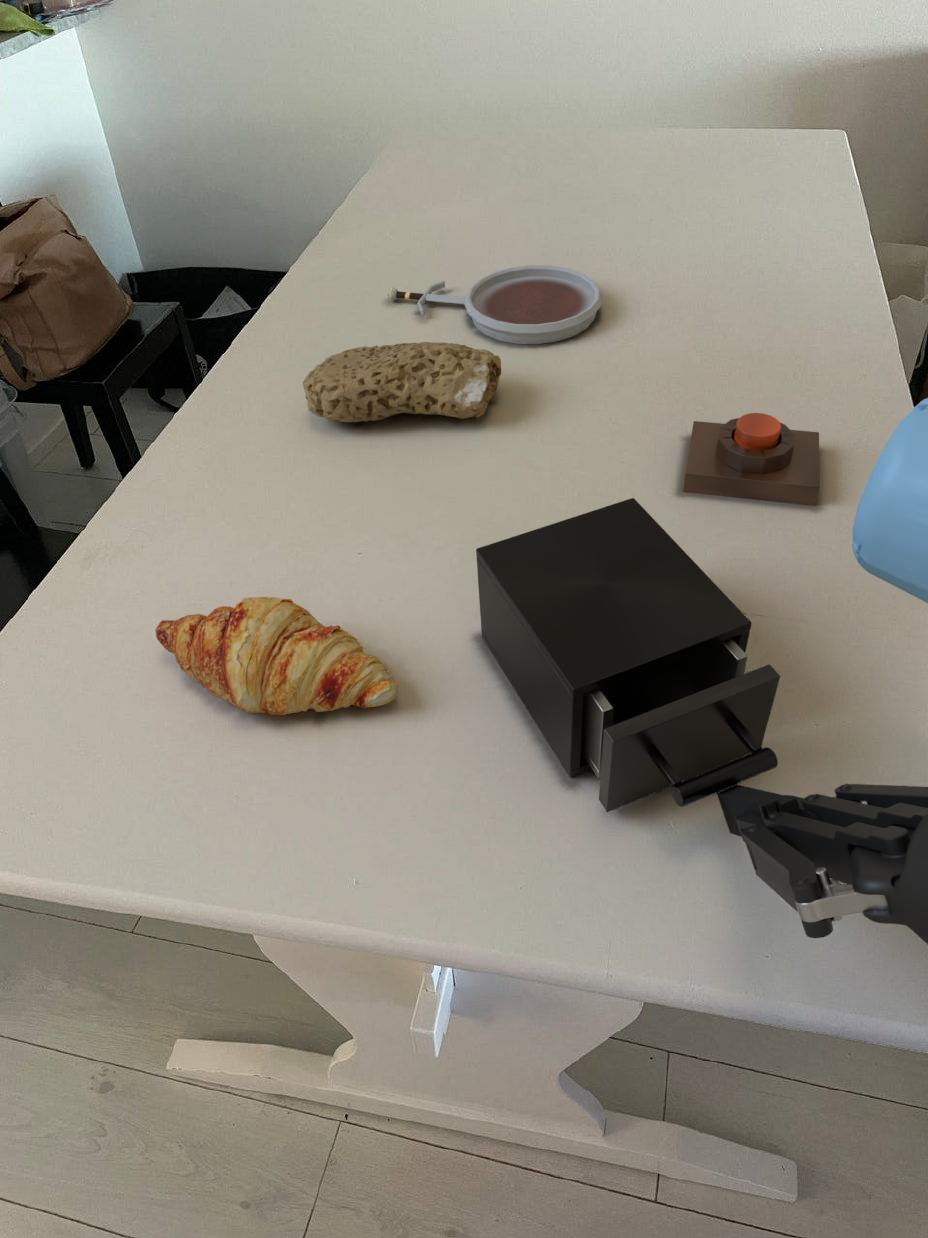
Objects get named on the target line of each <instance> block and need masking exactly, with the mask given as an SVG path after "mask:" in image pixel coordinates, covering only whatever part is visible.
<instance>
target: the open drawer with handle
mask: <svg viewBox="0 0 928 1238" xmlns="http://www.w3.org/2000/svg"><path fill="white" fill-rule="evenodd" d="M748 658H749V656H748V655H747V653H746V652H745V653H744V651H743V650H742V649H741V648H740V647H739V646H738V645H737V644H736V643H735V642H734V640H733V639H732V638H729V639H726V640H724V641H721V642H719V643H716V644H713V645H711V646H708V647H705V648H703V649H700V650H697V651H695V652H692V653H689V654H687V655H684V656H681V657H679V658H676V659H673V660H671V661H668V662H666V663H663V664H660V665H658V666H655V667H652V668H650V669H647V670H644V671H642V672H639V673H636V674H634V675H631V676H628V677H626V678H623V679H621V680H618V681H615V682H613V683H610V684H607V685H605V686H602V687H599V688H597V689H594V690H591V691H589V692H586V693H583V711H582V733H581V753H582V755H583V756H584V758H585V759H586V761H587V762H588V764H589V765H590V767H591V768H592V769H591V770H592V771H593V773H594V774H595V776H596V778H597V779H598V780H599V791H598V801H599V803H600V804H601V806H602V807H603V809H604V810H605V812H606V813H610V812H613V811H614V810H617V809H619V808H621V807H625V806H626V805H629V804H631V803H634V802H636V801H638V800H640V799H643V798H646V797H648V796H650V795H653V794H655V793H658V792H660V791H662V790H665V789H667V788H669V787H671V788H670V792H671V793H670V794H671V796H672V798H673V800H674V802H675V804H676V805H677V806H678V807H680V808H685V807H687V806H688V805H691V804H694V803H696V802H699V801H700V800H703V799H705V798H707V797H710V796H712V795H716V794H717V793H718V792H720V791H722V790H725V789H727V788H729V787H732V786H734V785H739V784H741V783H743V782H745V781H747V780H750V779H753V778H755V777H757V776H759V775H762V774H765V773H767V772H769V771H771V770H773V769H776V768H777V767H778V764H779V762H778V757H777V755H776V753H775V751H773V749H771V748H770V747H768V746H765V747H763V746H762V745H763V742H764V738H765V734H766V731H767V728H768V723H769V720H770V716H771V712H772V708H773V705H774V701H775V698H776V695H777V689H778V686H779V683H780V679H781V675H780V674H779V673H778V672H777V670H776V669H774V667H773V666H772V665H771V664H770V663H768V664H766V665H764V666H761V667H758V668H756V669H752V670H751V671H748V672H746V673H745V670H746V666H747V663H748Z"/></svg>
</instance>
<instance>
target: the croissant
mask: <svg viewBox="0 0 928 1238" xmlns="http://www.w3.org/2000/svg"><path fill="white" fill-rule="evenodd" d="M154 631H155V637H156V639H157V641H158V642H159V643H160V645H161V646H162V647H163V648H164V649H165V650H166V651H168V652H170V653H172V654H173V655H174V658H175V660H176V662H177V664H178V665H179V668H180V670H181V671H182V672H183V673H185V674H187V675H188V676H189V677H190V678H191V679H192V680H195V681H196V682H197V683H199V684H200V685H201V686H202V687H203V688H204V689H207V691H208V693H209V694H211V695H213V697H215V698H218V699H220V700H223V701H225V702H227V703H230V704H231V705H233V706H234V707H236V708H237V709H238V710H241V711H243V712H245V713H256V714H257V713H259V714H266V715H270V716H285V715H288V714H295V713H301V712H307V711H308V710H309V709H310V710H314V711H315V712H317V713H321V712H332V711H334V710H338V709H341V708H345V709H346V708H349V707H351V705H352V706H355V707H360V708H362V709H367V708H374V707H381V706H385V705H387V704H389V703H391V702H392V701H394V700H395V699H397V697H398V695H399V685H398V683H397V682H395V681H394V680H393V679H394V678H393V676H392V675H391V674H390V673H388V668H387V667H386V666H385V665H384V664H383V663H382V661H380V659H379V658H378V657H376V656H373V655H372V656H371V655H370V654H368V653H367V652H365V650H364V648H363V646H362V645H361V644H360V642H359V641H358V639H357V638H356V637H355V636H354V635H352V634H349V632H348V631H346V630H344V629H342V627H341V626H340V625H329V626H325V625H323V624H322V623H321V622H320V621H318V619H316V618H315V616H313V614H311V612H309V610H307V609H306V608H304V607H303V606H301V605H298V604H297V603H295V602H294V601H293V600H292V599H291V598H280V597H275V596H270V597H269V596H257V597H256V596H255V597H254V596H253V597H251V596H250V597H244V598H243V599H242V600H241V601H240V602H237V604H236V605H235V607H232V606H227V605H226V606H225V605H224V606H223V605H222V606H219V607H217V608H214V609H213V610H212V611H211V612H210V613H209V614H208V615H204V614H201V613H195V614H187V615H184V616H182V617H180V618H178V619H176V620H168V619H166V620H165V619H164V620H161V621H160V622H159V623H158V625H157V626H156V628H155V630H154Z"/></svg>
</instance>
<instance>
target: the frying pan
mask: <svg viewBox="0 0 928 1238" xmlns="http://www.w3.org/2000/svg"><path fill="white" fill-rule="evenodd" d="M445 281H446V280H442V281H439V282H437V283H434V284H432V285H429V286H428V287H427V289H426V290H425V292H424V293H421V292H420V293H419V292H411V291H399V290H398V288H396V287H393V286H392V287H391V288H389V289H388V290H387V293H386V296H387V298H388V299H389V300H390V301H391V302H395V301H396V300H398V299H402V300H403V299H404V300H409V301H410V300H415V301H417V309H418V311H419V313H420V315H421V316H422V317H424V316H425V315H426V314H425V309H424V307H423V305H424V304H425V303H426V302H432V303H433V302H435V303H447V304H457V305H464V307H465V310H466V313H467V314H468V316H469V317H471V319H472V322H473V324H474V327H475V328H476V329H478V331H480V332H481V333H482V334H484V335H485V336H487V337H490V338H493V339H495V340H497V341H501V342H505V343H509V344H511V343H512V344H516V345H542V344H548V343H556V342H559V341H563V340H566V339H569V338H572V337H575V336H577V335H579V334H580V333H582V332H583V331H585V330H587V329H588V328H589V327H590V325H591V324H592V323H593V322H594V321H595V318H596V316H597V313H598V312H597V311H599V309H600V308H601V307H602V305H603V304H602V303H603V294H602V292H601V289H600V288H599V286H598V285H597V283H596V281H595V280H593V279H592V278H591V277H589V276H588V275H586V274H585V273H583V272H581V271H577V270H574V269H571V268H569V267H562V266H557V265H556V266H555V265H548V264H528V265H521V266H513V267H508V268H504V269H500V270H498V271H494V272H491V273H490V274H488V275H486V276H483V277H482V278H480V279H477V281H476V282H475V283H474V284H473V285H472V286H471V287H470V288H469V289H468V292H467V294H466V296H459V295H458V296H456V295H446V294H435V293H434V292H437V291H439V290H441V289H444V288H446V282H445Z"/></svg>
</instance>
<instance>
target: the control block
mask: <svg viewBox="0 0 928 1238" xmlns="http://www.w3.org/2000/svg"><path fill="white" fill-rule="evenodd" d="M739 418H740V417H737V418H732V419H730V420H728V421H727V422H725V423H720V422H711V421H710V422H709V421H698V420H694V421H693V423H692V428H691V435H690V442H689V447H688V453H687V459H686V465H685V472H684V480H683V485H682V486H683V488H682V492H683V493H691V494H699V495H709V496H717V497H718V496H719V497H727V498H738V499H744V500H745V499H746V500H756V501H764V502H765V501H766V502H775V503H785V504H791V505H792V504H794V505H803V506H812V507H814V506H815V505H816V501H817V497H818V493H819V490H820V432H819V431H810V430H809V431H808V430H797V429H790V428H789V427H788V425H786V424H785V423H782V422H780V424H781V430H780V434H779V439H778V443H777V445H776V446H775V447H774V448H773V449H768V450H763V451H759V450H749V449H746V448H744V447H742V446H739V445H737V444H736V443H735V440H734V435H735V430H736V424H737V421H738V419H739Z"/></svg>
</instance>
